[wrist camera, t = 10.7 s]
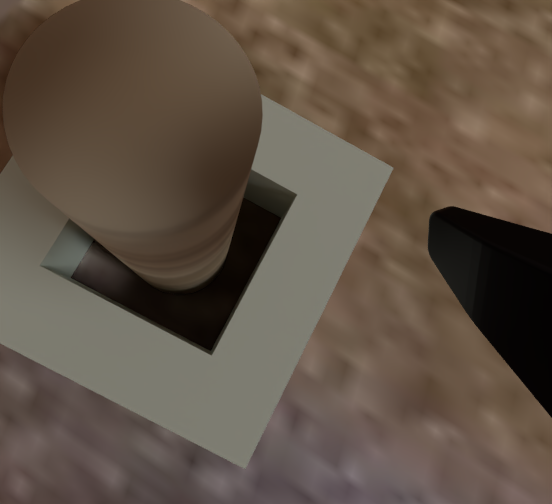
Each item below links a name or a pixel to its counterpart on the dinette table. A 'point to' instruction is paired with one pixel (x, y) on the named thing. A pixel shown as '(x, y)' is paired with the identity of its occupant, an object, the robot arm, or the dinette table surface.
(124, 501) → the dinette table surface
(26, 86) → the birch peg
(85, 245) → the socket block
